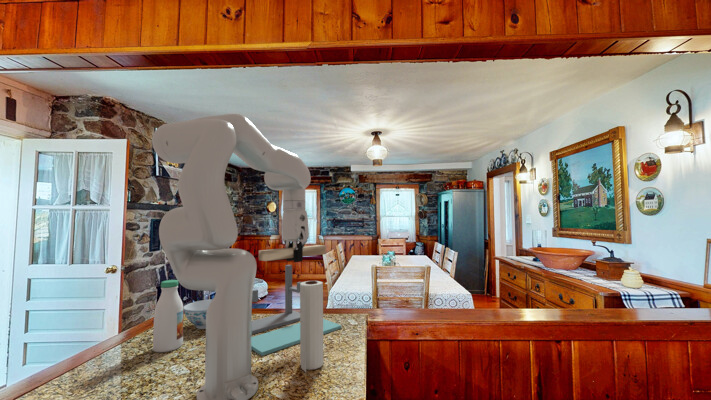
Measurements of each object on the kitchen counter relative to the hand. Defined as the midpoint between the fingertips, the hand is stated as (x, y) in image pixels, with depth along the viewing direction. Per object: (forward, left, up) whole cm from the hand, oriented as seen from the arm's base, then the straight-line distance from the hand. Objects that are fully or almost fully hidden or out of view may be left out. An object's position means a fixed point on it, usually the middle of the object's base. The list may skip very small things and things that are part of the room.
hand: (294, 260), depth 102 cm
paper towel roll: (-21, +9, -25) cm, 34 cm away
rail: (0, 0, +1) cm, 1 cm away
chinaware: (+32, +17, -25) cm, 44 cm away
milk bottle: (+20, +32, -25) cm, 45 cm away
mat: (0, 0, -24) cm, 24 cm away
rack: (+16, -1, -24) cm, 29 cm away
